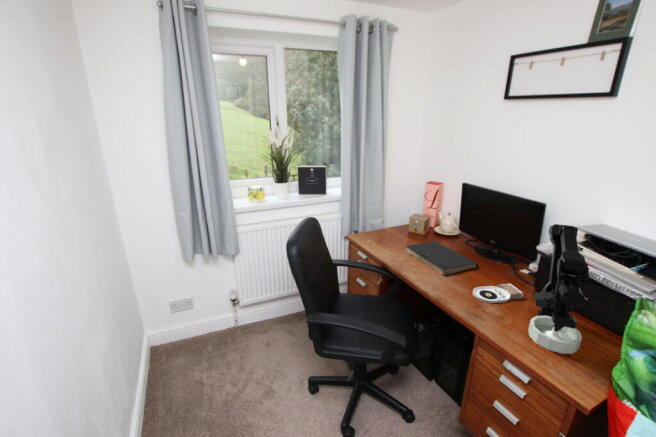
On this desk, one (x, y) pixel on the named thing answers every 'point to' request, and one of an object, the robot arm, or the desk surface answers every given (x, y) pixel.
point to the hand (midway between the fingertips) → (555, 328)
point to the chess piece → (553, 334)
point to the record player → (497, 293)
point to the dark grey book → (440, 257)
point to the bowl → (565, 345)
